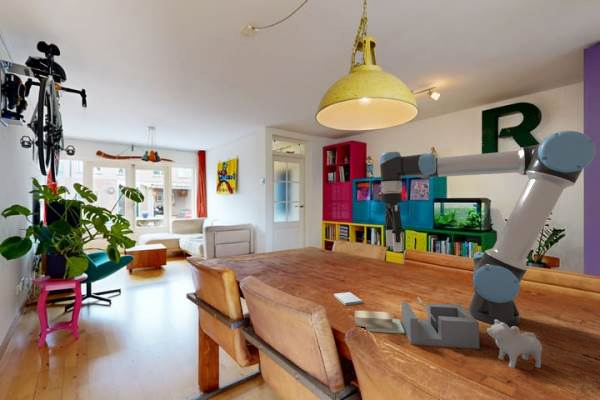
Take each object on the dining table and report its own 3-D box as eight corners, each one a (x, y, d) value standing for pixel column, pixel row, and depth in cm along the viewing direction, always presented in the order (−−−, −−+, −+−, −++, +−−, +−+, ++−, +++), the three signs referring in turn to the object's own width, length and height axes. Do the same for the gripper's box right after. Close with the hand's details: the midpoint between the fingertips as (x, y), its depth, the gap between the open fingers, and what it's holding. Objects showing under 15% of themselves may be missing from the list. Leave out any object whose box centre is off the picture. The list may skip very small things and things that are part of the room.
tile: (390, 320, 99) (389, 312, 99) (392, 328, 93) (392, 319, 93) (354, 318, 101) (354, 310, 101) (355, 326, 95) (355, 317, 95)
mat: (399, 320, 100) (399, 319, 100) (404, 333, 90) (404, 332, 90) (364, 318, 102) (364, 317, 102) (365, 331, 92) (365, 329, 92)
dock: (460, 327, 94) (459, 304, 94) (479, 348, 80) (478, 322, 81) (401, 324, 97) (401, 302, 97) (410, 344, 84) (410, 318, 84)
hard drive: (363, 300, 118) (350, 291, 130) (345, 302, 116) (333, 293, 128) (363, 304, 118) (350, 295, 130) (345, 306, 116) (333, 297, 128)
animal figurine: (482, 357, 76) (481, 317, 76) (529, 356, 76) (528, 316, 77) (496, 368, 71) (495, 326, 71) (546, 367, 71) (545, 325, 71)
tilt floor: (441, 330, 91) (445, 328, 91) (447, 337, 86) (451, 335, 86) (416, 297, 92) (420, 295, 92) (420, 303, 87) (424, 300, 87)
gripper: (376, 194, 122) (378, 244, 121) (387, 191, 97) (390, 254, 96) (394, 193, 121) (396, 244, 120) (410, 190, 96) (413, 253, 95)
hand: (393, 248), depth 108 cm, fingers open, 13 cm apart
